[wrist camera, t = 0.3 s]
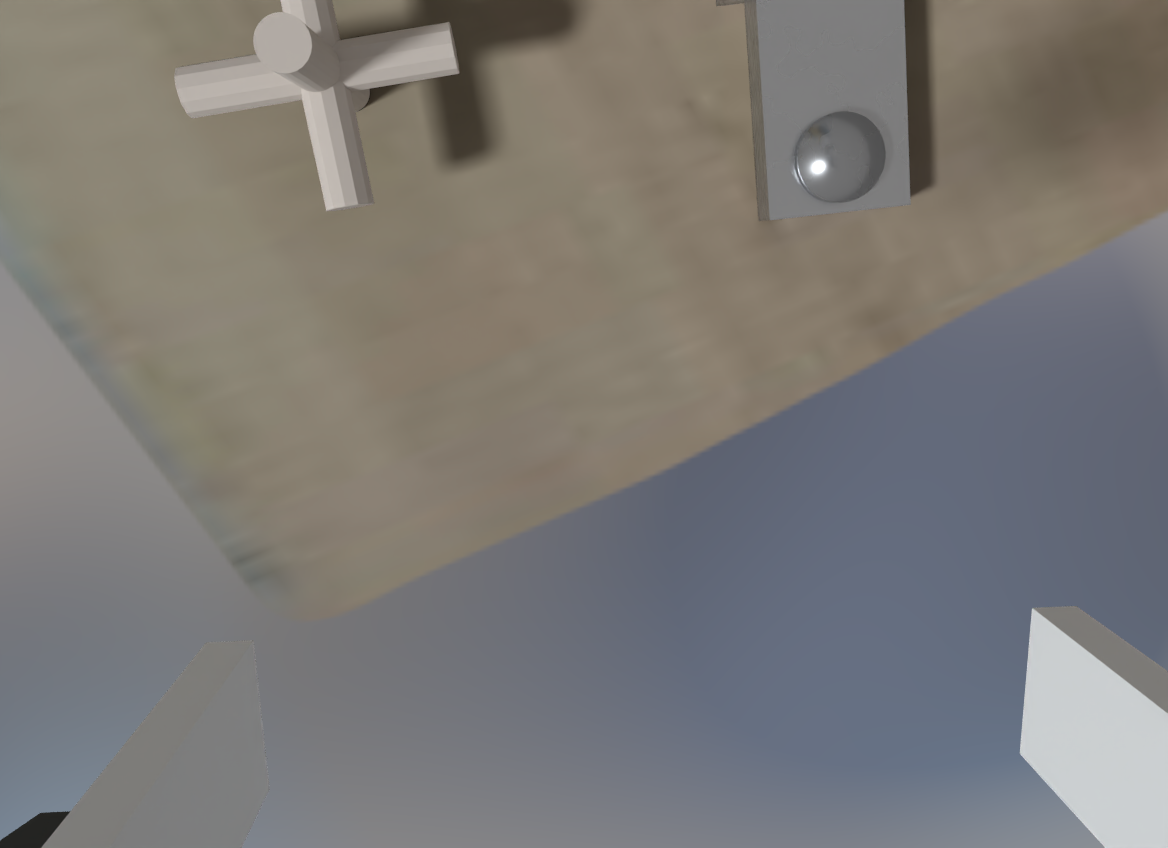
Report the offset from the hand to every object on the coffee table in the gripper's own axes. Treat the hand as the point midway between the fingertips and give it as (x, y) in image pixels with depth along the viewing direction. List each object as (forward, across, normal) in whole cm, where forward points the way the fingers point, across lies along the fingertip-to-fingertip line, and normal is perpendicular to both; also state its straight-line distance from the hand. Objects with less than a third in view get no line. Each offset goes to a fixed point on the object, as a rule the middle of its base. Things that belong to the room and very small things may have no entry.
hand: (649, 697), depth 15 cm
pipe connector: (+27, -10, +14) cm, 32 cm away
